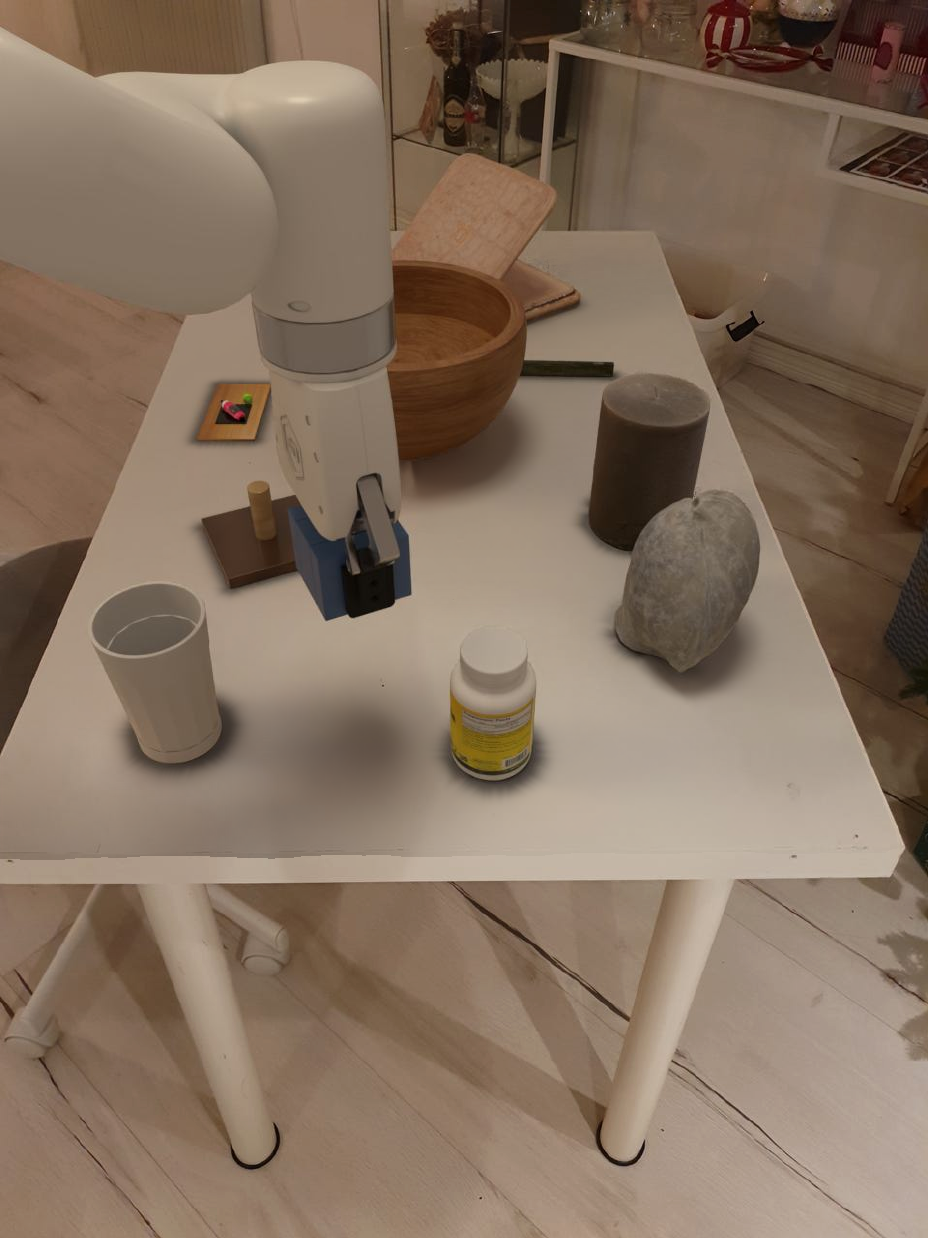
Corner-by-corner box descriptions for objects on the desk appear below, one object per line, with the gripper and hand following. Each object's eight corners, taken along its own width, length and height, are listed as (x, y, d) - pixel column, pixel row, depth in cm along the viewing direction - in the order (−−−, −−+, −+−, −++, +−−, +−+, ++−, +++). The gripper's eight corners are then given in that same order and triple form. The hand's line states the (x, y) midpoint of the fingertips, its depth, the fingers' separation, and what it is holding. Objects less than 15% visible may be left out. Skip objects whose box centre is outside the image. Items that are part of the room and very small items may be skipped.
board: (271, 385, 116) (269, 374, 115) (254, 440, 107) (252, 428, 106) (218, 385, 116) (216, 373, 115) (197, 440, 107) (194, 428, 106)
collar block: (325, 621, 62) (317, 561, 59) (296, 567, 66) (287, 507, 63) (412, 595, 64) (409, 534, 61) (378, 544, 68) (373, 484, 65)
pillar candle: (610, 560, 92) (628, 420, 82) (574, 501, 99) (587, 365, 89) (705, 543, 94) (734, 404, 84) (663, 486, 101) (685, 352, 90)
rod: (612, 374, 118) (613, 359, 116) (612, 378, 117) (614, 363, 116) (353, 370, 118) (351, 355, 117) (352, 374, 118) (350, 359, 116)
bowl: (242, 453, 105) (219, 320, 95) (393, 363, 120) (387, 240, 110) (424, 540, 94) (419, 401, 84) (565, 429, 109) (576, 300, 98)
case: (375, 291, 135) (367, 169, 124) (495, 255, 144) (498, 138, 133) (463, 348, 123) (463, 218, 112) (588, 304, 132) (599, 180, 121)
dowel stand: (230, 589, 89) (218, 530, 84) (203, 528, 95) (190, 471, 91) (334, 559, 92) (328, 502, 87) (301, 502, 98) (293, 446, 94)
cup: (216, 682, 80) (189, 568, 72) (245, 749, 75) (218, 636, 67) (118, 714, 77) (77, 600, 69) (140, 786, 72) (99, 672, 64)
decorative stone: (600, 578, 90) (618, 437, 80) (711, 574, 90) (743, 433, 80) (631, 699, 79) (657, 553, 69) (757, 693, 79) (801, 548, 69)
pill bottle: (466, 712, 78) (466, 609, 70) (541, 732, 76) (549, 629, 69) (438, 771, 73) (436, 667, 66) (517, 793, 72) (524, 690, 64)
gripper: (216, 277, 58) (260, 523, 70) (312, 416, 46) (344, 681, 58) (337, 255, 60) (358, 496, 72) (456, 382, 48) (458, 643, 61)
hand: (352, 577), depth 65 cm, fingers closed on collar block, 6 cm apart
